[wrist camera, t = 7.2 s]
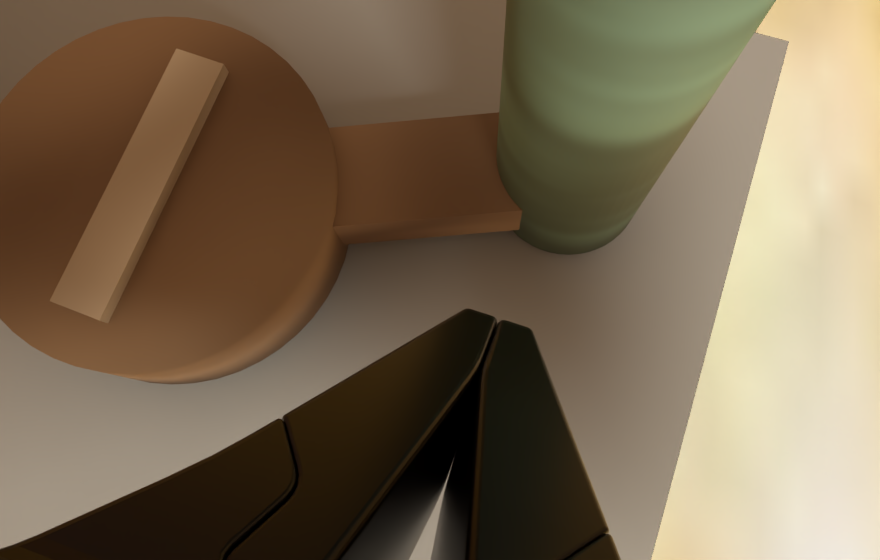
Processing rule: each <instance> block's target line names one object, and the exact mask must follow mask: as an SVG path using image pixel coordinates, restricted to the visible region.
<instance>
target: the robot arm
mask: <svg viewBox="0 0 880 560" xmlns="http://www.w3.org/2000/svg"><path fill="white" fill-rule="evenodd" d="M496 326H497V327H496ZM451 466H452V467H451ZM450 469H451V470H450ZM449 472H450V473H449ZM448 474H449V477H448ZM447 477H448V480H447ZM446 480H447V483H446V487H445V490H444V495H443V499H442V504H441V508H440V513H439V519H438V524H437V529H436V534H435V540H434V545H433V550H432V555H431V560H621V558H620V556H619V553H618V550H617V548H616V545H615V542H614V540H613V537H612V536H611V535H610V534H609V527H608V525H607V522H606V520H605V517H604V514H603V512H602V509H601V507H600V504H599V501H598V499H597V496H596V494H595V491H594V488H593V486H592V483H591V481H590V478H589V475H588V473H587V470H586V468H585V465H584V462H583V460H582V457H581V455H580V452H579V449H578V447H577V444H576V442H575V439H574V436H573V434H572V431H571V429H570V426H569V423H568V421H567V418H566V416H565V413H564V410H563V408H562V405H561V403H560V400H559V397H558V395H557V392H556V390H555V387H554V384H553V382H552V379H551V377H550V374H549V371H548V369H547V366H546V364H545V361H544V358H543V356H542V353H541V351H540V348H539V345H538V343H537V340H536V338H535V335H534V332H533V331H532V330H531V329H530V328H529V327H526V326H523V325H519V324H516V323H513V322H510V321H507V320H501V321H499V322H498V324H497V319H496V318H495V317H494V316H491V315H488V314H485V313H482V312H479V311H476V310H473V309H469V308H467V309H463V310H462V311H460V312H458V313H457V314H455V315H453V316H451V317H450V318H448V319H446V320H445V321H443V322H441V323H440V324H438V325H436V326H434V327H433V328H431V329H429V330H428V331H426V332H424V333H423V334H421V335H419V336H417V337H416V338H414V339H412V340H411V341H409V342H407V343H406V344H404V345H402V346H400V347H399V348H397V349H395V350H394V351H392V352H390V353H389V354H387V355H385V356H383V357H382V358H380V359H378V360H377V361H375V362H373V363H372V364H370V365H368V366H366V367H365V368H363V369H361V370H360V371H358V372H356V373H355V374H353V375H351V376H349V377H348V378H346V379H344V380H343V381H341V382H339V383H338V384H336V385H334V386H332V387H331V388H329V389H327V390H326V391H324V392H322V393H321V394H319V395H317V396H315V397H314V398H312V399H310V400H309V401H307V402H305V403H304V404H302V405H300V406H298V407H297V408H295V409H293V410H292V411H290V412H288V413H287V414H285V415H284V416H283V417H282V419H280V418H278V419H276V420H274V421H272V422H271V423H269V424H267V425H266V426H264V427H262V428H260V429H259V430H257V431H255V432H254V433H252V434H250V435H248V436H246V437H245V438H243V439H241V440H239V441H237V442H235V443H234V444H232V445H230V446H228V447H226V448H224V449H223V450H221V451H219V452H217V453H215V454H213V455H212V456H209V457H207V458H205V459H203V460H201V461H199V462H197V463H195V464H193V465H191V466H188V467H186V468H184V469H182V470H180V471H178V472H176V473H174V474H172V475H170V476H168V477H165V478H163V479H161V480H159V481H157V482H154V483H152V484H150V485H148V486H145V487H143V488H141V489H139V490H136V491H134V492H132V493H130V494H128V495H125V496H123V497H121V498H119V499H116V500H114V501H112V502H110V503H107V504H105V505H103V506H101V507H98V508H96V509H94V510H92V511H89V512H87V513H85V514H83V515H81V516H78V517H76V518H74V519H72V520H69V521H67V522H65V523H63V524H60V525H58V526H56V527H54V528H51V529H49V530H47V531H45V532H42V533H40V534H38V535H36V536H33V537H31V538H28V539H26V540H23V541H21V542H18V543H16V544H13V545H10V546H7V547H4V548H1V549H0V560H409V558H410V556H411V554H412V552H413V550H414V548H415V546H416V544H417V542H418V540H419V538H420V536H421V534H422V532H423V530H424V528H425V526H426V524H427V522H428V520H429V518H430V516H431V514H432V512H433V510H434V508H435V506H436V503H437V501H438V499H439V497H440V495H441V492H442V490H443V488H444V485H445V482H446Z"/></svg>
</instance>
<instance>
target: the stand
mask: <svg viewBox="0 0 880 560" xmlns="http://www.w3.org/2000/svg"><path fill="white" fill-rule="evenodd" d="M506 2H507V0H0V103H1V102H2V100H3V99H4V98H5V97H6V96H7V94H8V93H9V92H10V91H11V90H12V89H13V88H14V86H15V85H16V84H17V83H18V82H19V81H20V80H21V79H22V78H23V77H24V76H25V75H26V74H27V73H29V72H30V71H31V70H32V69H33V68H34V67H35V66H36V65H37V64H39V63H40V62H42V61H43V60H44V59H46V58H47V57H48V56H50V55H51V54H52V53H54V52H55V51H57V50H58V49H60V48H62V47H64V46H65V45H67V44H69V43H71V42H72V41H74V40H76V39H78V38H80V37H82V36H85V35H87V34H89V33H91V32H94V31H96V30H98V29H102V28H105V27H108V26H111V25H114V24H118V23H121V22H126V21H131V20H136V19H142V18H153V17H189V18H195V19H201V20H207V21H212V22H215V23H219V24H222V25H225V26H229V27H232V28H234V29H237V30H239V31H241V32H243V33H245V34H248V35H250V36H252V37H254V38H255V39H257V40H259V41H260V42H262V43H263V44H265V45H267V46H268V47H270V48H271V49H272V50H274V51H275V52H276V53H277V54H278V55H280V56H281V57H282V58H283V59H284V60H286V61H287V62H288V63H289V64H290V65H291V67H292V68H293V69H294V70H295V71H296V72H297V73H298V74H299V75H300V77H301V78H302V79H303V81H304V82H305V83H306V85H307V86H308V88H309V89H310V91H311V92H312V94H313V95H314V97H315V99H316V101H317V103H318V106H319V108H320V110H321V112H322V114H323V116H324V118H325V120H326V123H327V125H328V127H329V128H332V127H343V126H354V125H365V124H376V123H387V122H398V121H409V120H420V119H431V118H442V117H453V116H464V115H475V114H486V113H497V112H499V108H500V93H501V78H502V63H503V47H504V32H505V17H506ZM788 43H789V41H785V40H781V39H778V38H774V37H770V36H766V35H763V34H759V33H754V34H753V36H752V37H751V39H750V40H749V42H748V43H747V45H746V46H745V48H744V49H743V51H742V52H741V54H740V55H739V57H738V58H737V60H736V61H735V63H734V65H733V66H732V68H731V69H730V71H729V72H728V74H727V75H726V77H725V78H724V80H723V81H722V83H721V84H720V86H719V87H718V89H717V90H716V92H715V93H714V95H713V96H712V98H711V99H710V101H709V102H708V104H707V105H706V107H705V108H704V110H703V112H702V113H701V115H700V116H699V118H698V119H697V121H696V122H695V124H694V125H693V127H692V128H691V130H690V131H689V133H688V134H687V136H686V137H685V139H684V140H683V142H682V143H681V145H680V146H679V148H678V149H677V151H676V152H675V154H674V155H673V157H672V158H671V160H670V162H669V163H668V165H667V166H666V168H665V169H664V171H663V172H662V174H661V175H660V177H659V178H658V180H657V181H656V183H655V184H654V186H653V187H652V189H651V190H650V192H649V193H648V195H647V196H646V198H645V199H644V201H643V202H642V204H641V205H640V207H639V209H638V210H637V212H636V213H635V215H634V216H633V218H632V219H631V221H630V222H629V224H628V225H627V227H626V228H625V229H624V230H623V231H622V232H621V234H620V235H618V236H617V237H616V238H615V239H614V240H613V241H611V242H609V243H608V244H606V245H605V246H603V247H601V248H598V249H596V250H593V251H590V252H587V253H581V254H572V255H565V254H555V253H550V252H547V251H544V250H540V249H538V248H536V247H534V246H532V245H530V244H528V243H527V242H525V241H524V240H522V239H521V238H520V237H519V236H518V235H516V234H515V233H514V231H513V230H511V231H499V232H488V233H476V234H464V235H452V236H441V237H429V238H417V239H406V240H394V241H382V242H371V243H359V244H349V245H348V249H347V253H346V257H345V261H344V263H343V266H342V268H341V271H340V274H339V276H338V279H337V281H336V283H335V284H334V286H333V288H332V290H331V292H330V294H329V295H328V297H327V299H326V301H325V302H324V303H323V305H322V306H321V307H320V309H319V310H318V312H317V313H316V314H315V316H314V317H313V318H312V319H311V320H310V321H309V323H308V324H307V325H306V326H305V327H304V328H303V329H302V330H301V331H300V332H299V333H298V334H297V335H296V336H295V337H294V338H292V339H291V340H290V341H289V342H288V343H286V344H285V345H284V346H283V347H282V348H280V349H279V350H278V351H276V352H274V353H273V354H271V355H270V356H268V357H267V358H265V359H263V360H262V361H260V362H258V363H256V364H254V365H252V366H250V367H248V368H246V369H244V370H242V371H239V372H237V373H234V374H231V375H228V376H225V377H221V378H218V379H214V380H209V381H204V382H198V383H190V384H173V385H172V384H159V383H149V382H144V381H139V380H135V379H130V378H126V377H121V376H116V375H112V374H107V373H103V372H98V371H93V370H89V369H84V368H80V367H75V366H73V365H70V364H67V363H65V362H62V361H59V360H57V359H54V358H52V357H50V356H48V355H46V354H44V353H43V352H41V351H39V350H37V349H35V348H34V347H32V346H30V345H29V344H28V343H27V342H25V341H24V340H23V339H21V338H20V337H19V336H17V335H16V334H15V333H14V332H12V331H11V329H10V328H9V327H8V326H7V325H6V324H5V323H4V322H3V321H2V320H1V319H0V549H1V548H4V547H7V546H10V545H13V544H16V543H18V542H21V541H23V540H26V539H28V538H31V537H33V536H36V535H38V534H40V533H42V532H45V531H47V530H49V529H51V528H54V527H56V526H58V525H60V524H63V523H65V522H67V521H69V520H72V519H74V518H76V517H78V516H81V515H83V514H85V513H87V512H89V511H92V510H94V509H96V508H98V507H101V506H103V505H105V504H107V503H110V502H112V501H114V500H116V499H119V498H121V497H123V496H125V495H128V494H130V493H132V492H134V491H136V490H139V489H141V488H143V487H145V486H148V485H150V484H152V483H154V482H157V481H159V480H161V479H163V478H165V477H168V476H170V475H172V474H174V473H176V472H178V471H180V470H182V469H184V468H186V467H188V466H191V465H193V464H195V463H197V462H199V461H201V460H203V459H205V458H207V457H209V456H212V455H213V454H215V453H217V452H219V451H221V450H223V449H224V448H226V447H228V446H230V445H232V444H234V443H235V442H237V441H239V440H241V439H243V438H245V437H246V436H248V435H250V434H252V433H254V432H255V431H257V430H259V429H260V428H262V427H264V426H266V425H267V424H269V423H271V422H272V421H274V420H276V419H278V418H280V419H282V417H283V416H284V415H285V414H287V413H288V412H290V411H292V410H293V409H295V408H297V407H298V406H300V405H302V404H304V403H305V402H307V401H309V400H310V399H312V398H314V397H315V396H317V395H319V394H321V393H322V392H324V391H326V390H327V389H329V388H331V387H332V386H334V385H336V384H338V383H339V382H341V381H343V380H344V379H346V378H348V377H349V376H351V375H353V374H355V373H356V372H358V371H360V370H361V369H363V368H365V367H366V366H368V365H370V364H372V363H373V362H375V361H377V360H378V359H380V358H382V357H383V356H385V355H387V354H389V353H390V352H392V351H394V350H395V349H397V348H399V347H400V346H402V345H404V344H406V343H407V342H409V341H411V340H412V339H414V338H416V337H417V336H419V335H421V334H423V333H424V332H426V331H428V330H429V329H431V328H433V327H434V326H436V325H438V324H440V323H441V322H443V321H445V320H446V319H448V318H450V317H451V316H453V315H455V314H457V313H458V312H460V311H462V310H463V309H467V308H469V309H473V310H476V311H479V312H482V313H485V314H488V315H491V316H494V317H495V318H496V319H497V324H498V322H499V321H501V320H507V321H510V322H513V323H516V324H519V325H523V326H526V327H529V328H530V329H531V330H532V331H533V332H534V335H535V338H536V340H537V343H538V345H539V348H540V351H541V353H542V356H543V358H544V361H545V364H546V366H547V369H548V371H549V374H550V377H551V379H552V382H553V384H554V387H555V390H556V392H557V395H558V397H559V400H560V403H561V405H562V408H563V410H564V413H565V416H566V418H567V421H568V423H569V426H570V429H571V431H572V434H573V436H574V439H575V442H576V444H577V447H578V449H579V452H580V455H581V457H582V460H583V462H584V465H585V468H586V470H587V473H588V475H589V478H590V481H591V483H592V486H593V488H594V491H595V494H596V496H597V499H598V501H599V504H600V507H601V509H602V512H603V514H604V517H605V520H606V522H607V525H608V527H609V534H610V535H611V536H612V537H613V540H614V542H615V545H616V548H617V550H618V553H619V556H620V558H621V560H651V558H652V554H653V550H654V546H655V543H656V539H657V535H658V531H659V528H660V524H661V520H662V516H663V513H664V509H665V505H666V501H667V497H668V494H669V490H670V486H671V482H672V479H673V475H674V471H675V467H676V464H677V460H678V456H679V452H680V449H681V445H682V441H683V437H684V434H685V430H686V426H687V422H688V419H689V415H690V411H691V407H692V404H693V400H694V396H695V392H696V388H697V385H698V381H699V377H700V373H701V370H702V366H703V362H704V358H705V355H706V351H707V347H708V343H709V340H710V336H711V332H712V328H713V325H714V321H715V317H716V313H717V310H718V306H719V302H720V298H721V294H722V291H723V287H724V283H725V279H726V276H727V272H728V268H729V264H730V261H731V257H732V253H733V249H734V246H735V242H736V238H737V234H738V231H739V227H740V223H741V219H742V216H743V212H744V208H745V204H746V201H747V197H748V193H749V189H750V185H751V182H752V178H753V174H754V170H755V167H756V163H757V159H758V155H759V152H760V148H761V144H762V140H763V137H764V133H765V129H766V125H767V122H768V118H769V114H770V110H771V107H772V103H773V99H774V95H775V91H776V88H777V84H778V80H779V76H780V73H781V69H782V65H783V61H784V58H785V54H786V50H787V46H788ZM496 327H497V326H496ZM451 467H452V466H451ZM450 470H451V469H450ZM449 473H450V472H449ZM448 477H449V474H448ZM448 477H447V480H448ZM447 480H446V482H445V485H444V488H443V490H442V492H441V495H440V497H439V499H438V501H437V503H436V506H435V508H434V510H433V512H432V514H431V516H430V518H429V520H428V522H427V524H426V526H425V528H424V530H423V532H422V534H421V536H420V538H419V540H418V542H417V544H416V546H415V548H414V550H413V552H412V554H411V556H410V558H409V560H431V555H432V550H433V545H434V540H435V534H436V529H437V524H438V519H439V513H440V508H441V504H442V499H443V495H444V490H445V487H446V483H447Z"/></svg>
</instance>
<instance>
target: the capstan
mask: <svg viewBox="0 0 880 560" xmlns="http://www.w3.org/2000/svg"><path fill="white" fill-rule="evenodd" d="M775 1H776V0H507V2H506V17H505V32H504V47H503V63H502V78H501V93H500V108H499V112H497V113H486V114H475V115H464V116H453V117H442V118H431V119H420V120H409V121H398V122H387V123H376V124H365V125H354V126H343V127H332V128H329V127H328V125H327V123H326V120H325V118H324V116H323V114H322V112H321V110H320V108H319V106H318V103H317V101H316V99H315V97H314V95H313V94H312V92H311V91H310V89H309V88H308V86H307V85H306V83H305V82H304V81H303V79H302V78H301V77H300V75H299V74H298V73H297V72H296V71H295V70H294V69H293V68H292V67H291V65H290V64H289V63H288V62H287V61H286V60H284V59H283V58H282V57H281V56H280V55H278V54H277V53H276V52H275V51H274V50H272V49H271V48H270V47H268V46H267V45H265V44H263V43H262V42H260V41H259V40H257V39H255V38H254V37H252V36H250V35H248V34H245V33H243V32H241V31H239V30H237V29H234V28H232V27H229V26H225V25H222V24H219V23H215V22H212V21H207V20H201V19H195V18H189V17H153V18H142V19H136V20H131V21H126V22H121V23H118V24H114V25H111V26H108V27H105V28H102V29H98V30H96V31H94V32H91V33H89V34H87V35H85V36H82V37H80V38H78V39H76V40H74V41H72V42H71V43H69V44H67V45H65V46H64V47H62V48H60V49H58V50H57V51H55V52H54V53H52V54H51V55H50V56H48V57H47V58H46V59H44V60H43V61H42V62H40V63H39V64H37V65H36V66H35V67H34V68H33V69H32V70H31V71H30V72H29V73H27V74H26V75H25V76H24V77H23V78H22V79H21V80H20V81H19V82H18V83H17V84H16V85H15V86H14V88H13V89H12V90H11V91H10V92H9V93H8V94H7V96H6V97H5V98H4V99H3V100H2V102H1V103H0V319H1V320H2V321H3V322H4V323H5V324H6V325H7V326H8V327H9V328H10V329H11V331H12V332H14V333H15V334H16V335H17V336H19V337H20V338H21V339H23V340H24V341H25V342H27V343H28V344H29V345H30V346H32V347H34V348H35V349H37V350H39V351H41V352H43V353H44V354H46V355H48V356H50V357H52V358H54V359H57V360H59V361H62V362H65V363H67V364H70V365H73V366H75V367H80V368H84V369H89V370H93V371H98V372H103V373H107V374H112V375H116V376H121V377H126V378H130V379H135V380H139V381H144V382H149V383H159V384H172V385H173V384H190V383H198V382H204V381H209V380H214V379H218V378H221V377H225V376H228V375H231V374H234V373H237V372H239V371H242V370H244V369H246V368H248V367H250V366H252V365H254V364H256V363H258V362H260V361H262V360H263V359H265V358H267V357H268V356H270V355H271V354H273V353H274V352H276V351H278V350H279V349H280V348H282V347H283V346H284V345H285V344H286V343H288V342H289V341H290V340H291V339H292V338H294V337H295V336H296V335H297V334H298V333H299V332H300V331H301V330H302V329H303V328H304V327H305V326H306V325H307V324H308V323H309V321H310V320H311V319H312V318H313V317H314V316H315V314H316V313H317V312H318V310H319V309H320V307H321V306H322V305H323V303H324V302H325V301H326V299H327V297H328V295H329V294H330V292H331V290H332V288H333V286H334V284H335V283H336V281H337V279H338V276H339V274H340V271H341V268H342V266H343V263H344V261H345V257H346V253H347V249H348V245H349V244H359V243H371V242H382V241H394V240H406V239H417V238H429V237H441V236H452V235H464V234H476V233H488V232H499V231H511V230H513V231H514V233H515V234H516V235H518V236H519V237H520V238H521V239H522V240H524V241H525V242H527V243H528V244H530V245H532V246H534V247H536V248H538V249H540V250H544V251H547V252H550V253H555V254H565V255H572V254H581V253H587V252H590V251H593V250H596V249H598V248H601V247H603V246H605V245H606V244H608V243H609V242H611V241H613V240H614V239H615V238H616V237H617V236H618V235H620V234H621V232H622V231H623V230H624V229H625V228H626V227H627V225H628V224H629V222H630V221H631V219H632V218H633V216H634V215H635V213H636V212H637V210H638V209H639V207H640V205H641V204H642V202H643V201H644V199H645V198H646V196H647V195H648V193H649V192H650V190H651V189H652V187H653V186H654V184H655V183H656V181H657V180H658V178H659V177H660V175H661V174H662V172H663V171H664V169H665V168H666V166H667V165H668V163H669V162H670V160H671V158H672V157H673V155H674V154H675V152H676V151H677V149H678V148H679V146H680V145H681V143H682V142H683V140H684V139H685V137H686V136H687V134H688V133H689V131H690V130H691V128H692V127H693V125H694V124H695V122H696V121H697V119H698V118H699V116H700V115H701V113H702V112H703V110H704V108H705V107H706V105H707V104H708V102H709V101H710V99H711V98H712V96H713V95H714V93H715V92H716V90H717V89H718V87H719V86H720V84H721V83H722V81H723V80H724V78H725V77H726V75H727V74H728V72H729V71H730V69H731V68H732V66H733V65H734V63H735V61H736V60H737V58H738V57H739V55H740V54H741V52H742V51H743V49H744V48H745V46H746V45H747V43H748V42H749V40H750V39H751V37H752V36H753V34H754V33H755V31H756V30H757V28H758V27H759V25H760V24H761V22H762V21H763V19H764V18H765V16H766V15H767V13H768V11H769V10H770V8H771V7H772V5H773V4H774V2H775Z"/></svg>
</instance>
